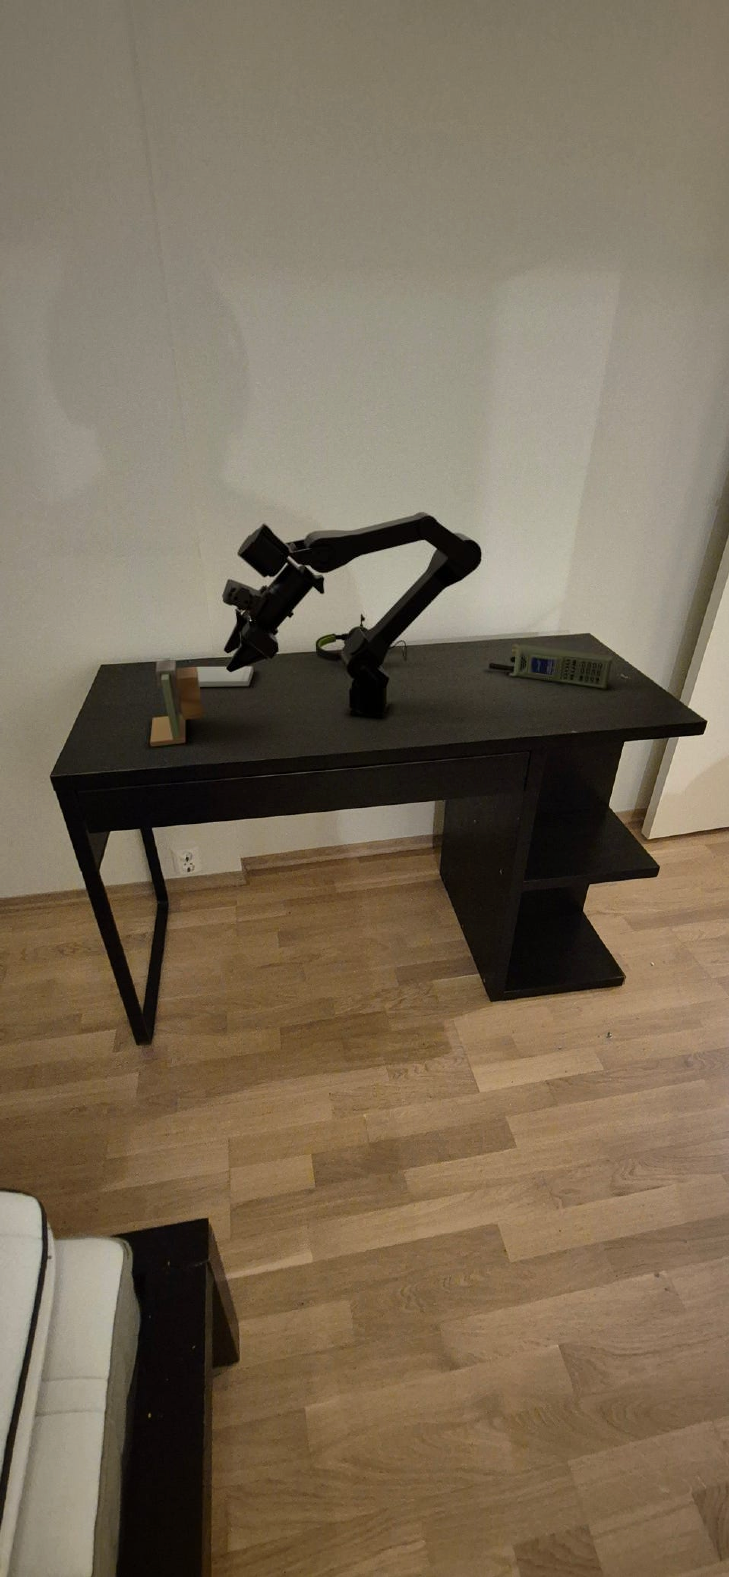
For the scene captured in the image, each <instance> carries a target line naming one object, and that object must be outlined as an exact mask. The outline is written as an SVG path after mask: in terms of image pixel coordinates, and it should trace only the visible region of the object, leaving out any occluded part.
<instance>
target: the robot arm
mask: <svg viewBox="0 0 729 1577" xmlns="http://www.w3.org/2000/svg"><path fill="white" fill-rule="evenodd" d="M420 541H425V542H426V543H429V544H430V545H431V546H432V547H434V548H435V551H434V553H433V554H432V556H431V558H430V561H429V563H428V565H427V568H426V570H425V571H424V572H423V573H422V574H421V576H420V577H418V578H417V580H416V581H415V582H414V583H413V584H412V585H411V586H410V587H409V589H407V590H406V591H405V593H404V594H402V596H401V597H400V598H399V599H398V600H397V601H396V602H395V603H394V604H393V605H392V607H391V608H390V609H389V610H388V611H386V613H385V614H384V615H383V616H382V617H381V618H380V619H379V620H378V622H376V624H375V625H374V626H372V627H370V628H369V629H368V630H367V631H365V632H362V631H361V629H360V628H357V629H356V630H355V631H354V633H353V634H352V636H351V637H350V638H349V639H347V640H345V641H343V642H342V643H343V644H344V645H343V647H342V648H341V650H340V655H341V660H340V661H341V662H342V665H343V667H344V669H345V670H346V672H347V674H348V675H349V677H350V678H351V679H353V680H352V681H351V686H350V687H349V689H348V700H349V704H348V706H349V708H350V710H349V716H356V717H367V718H373V719H382V718H383V716H384V715H385V714H386V711H387V710H388V708H389V706H390V703H389V702H388V701H387V700H388V699H387V697H388V696H387V694H388V693H387V689H388V684H389V681H390V677H389V676H388V673H386V671H385V669H384V668H383V666H382V664H383V663H384V661H385V659H386V656H387V654H388V652H389V650H390V649H389V648H391V647H392V644H394V642H396V640H397V639H398V638H399V637H400V636H401V635H402V634H403V633H404V632H405V631H406V630H407V629H408V628H409V627H410V626H411V625H412V624H413V622H414V621H415V620H417V618H418V617H419V616H420V615H421V614H422V613H423V612H424V611H425V610H426V609H427V608H428V607H429V606H430V605H431V604H432V602H433V601H434V600H435V599H437V597H438V596H439V595H440V594H441V593H442V592H443V591H444V590H445V589H447V588H448V587H451V586H453V585H455V584H457V583H460V582H461V581H463V580H464V579H466V577H468V576H469V575H470V574H472V573H473V572H474V571H475V570H477V568H478V567H479V566H480V565H481V562H482V556H483V552H482V548H481V546H480V545H479V543H478V542H476V541H475V540H474V539H472V538H470V537H469V536H467V535H465V534H463V533H460V532H452V531H451V530H449V529H448V528H447V527H446V526H444V525H442V524H441V523H440V522H439V521H437V519H436V518H435V517H434V516H433V515H431V514H429V513H427V512H425V511H419V512H417V513H415V514H413V515H409V516H406V517H401V518H397V519H393V520H389V521H385V522H381V523H377V524H373V525H369V526H365V527H360V528H357V529H351V530H349V529H348V530H343V529H342V530H341V529H327V530H325V529H324V530H314V531H312V532H310V533H308V534H307V535H306V536H305V538H302V539H297V540H292V541H288V542H284V541H283V539H281V538H280V537H279V536H278V535H276V533H274V532H273V530H272V529H271V527H270V526H268V524H267V523H265V522H263V523H262V524H261V525H260V527H258V528H257V529H255V530H254V531H253V532H252V533H251V534H249V535H248V536H247V537H246V538H245V539H244V541H243V542H242V544H241V545H240V546H239V548H238V551H237V553H236V555H237V556H238V557H239V558H241V559H242V560H243V561H244V562H245V563H246V564H247V565H249V566H250V567H251V568H252V569H253V570H254V571H255V572H257V574H259V576H261V577H262V578H267V577H269V578H274V579H273V580H272V581H271V582H270V583H269V585H267V584H265V585H262V586H261V587H260V588H259V589H256V588H254V587H252V586H249V585H247V584H245V583H242V582H240V581H236V580H235V579H230V578H228V579H227V581H226V583H225V586H224V589H223V593H222V596H221V597H222V603H224V604H226V605H227V606H230V607H231V606H234V607H236V608H235V609H234V612H235V620H236V623H235V625H234V627H233V629H232V631H231V633H230V635H229V637H228V639H227V641H226V644H225V645H224V648H223V651H224V652H225V653H226V654H231V653H232V652H234V654H233V655H232V656H231V658H230V660H229V662H228V663H227V665H226V666H225V667H226V669H227V670H228V671H229V672H233V671H235V670H238V669H240V668H243V667H248V666H249V665H252V664H254V663H257V662H260V661H262V660H263V661H264V660H269V659H271V660H272V659H273V658H274V657H275V656H276V655H277V654H278V653H279V652H280V649H279V641H278V640H277V636H276V635H277V634H278V633H279V629H278V628H279V627H280V626H281V625H282V623H283V622H285V620H286V618H289V619H291V618H292V617H293V616H294V615H295V613H294V609H295V608H296V607H298V605H299V604H300V603H301V602H302V600H303V599H304V598H305V597H306V596H307V595H308V594H309V592H311V590H312V589H313V588H314V589H315V590H316V591H317V592H318V593H319V594H320V595H324V594H325V585H324V583H325V577H324V576H323V574H327V573H331V572H333V571H335V570H337V569H340V568H341V567H344V566H346V565H347V564H349V563H350V562H352V561H353V560H355V559H357V558H359V557H361V556H365V555H369V554H372V553H373V554H374V553H377V552H381V551H385V550H388V549H393V548H397V547H400V546H405V545H409V544H412V543H417V542H420ZM289 557H290V558H291V559H290V558H289ZM292 560H293V561H292ZM294 562H295V563H294ZM298 565H299V566H298ZM308 567H310V568H308ZM310 569H311V570H310ZM312 570H314V571H315V572H317V573H319V574H315V573H314V572H313V571H312ZM275 576H276V577H275Z"/></svg>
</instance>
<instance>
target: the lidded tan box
mask: <svg viewBox="0 0 729 1577" xmlns="http://www.w3.org/2000/svg"><path fill="white" fill-rule="evenodd" d="M197 667H198V666H189V667H178V668H177V663H176V659H170V660H166V661H163V660H157V661H156V669H155V674H156V680H157V685H158V686H159V687H161V686H162V681H161V679H162V674H169V675H170V681H171V686H172V692H173V698H174V704H175V709H176V713H179V712H180V713H181V715H182V716H183V720H185V719H186V720H194V719H203V718H204V705H203V698H202V693H201V687H200V685H199V678H198V671H197Z"/></svg>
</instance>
